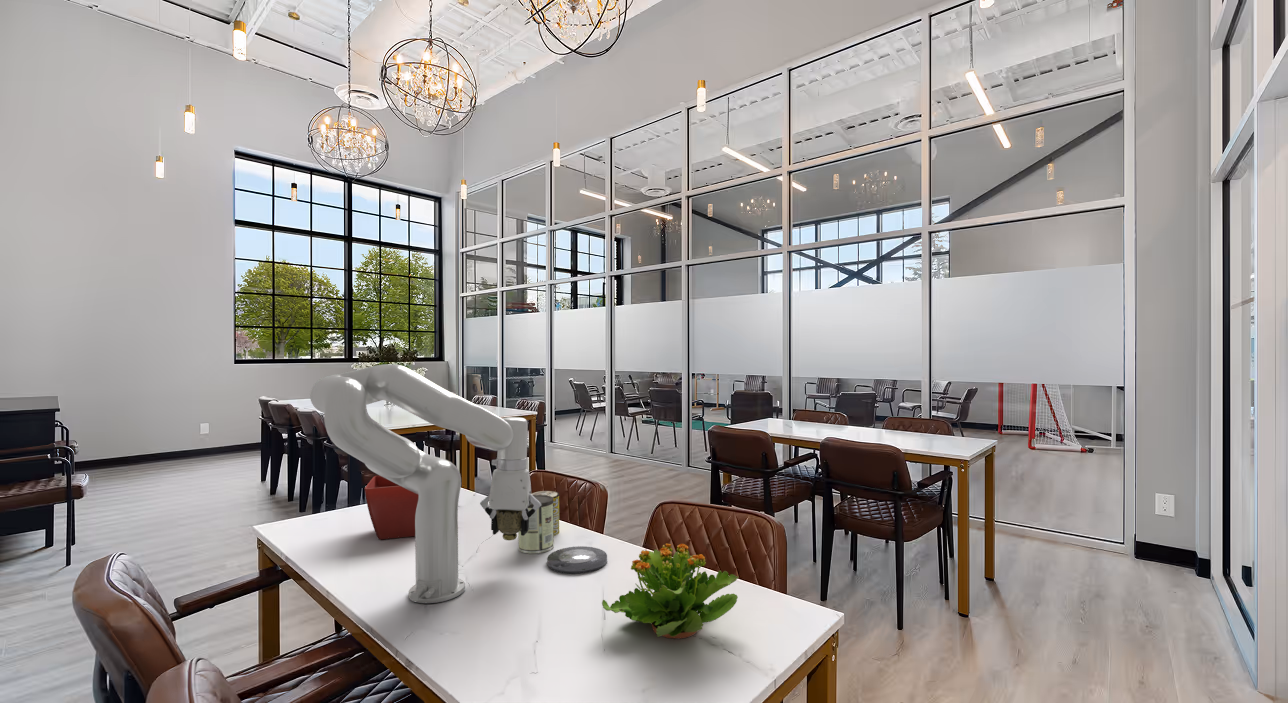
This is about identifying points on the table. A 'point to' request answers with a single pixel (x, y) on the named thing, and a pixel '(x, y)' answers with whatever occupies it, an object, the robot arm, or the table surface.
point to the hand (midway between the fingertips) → (509, 533)
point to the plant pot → (391, 508)
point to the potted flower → (674, 593)
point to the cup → (509, 523)
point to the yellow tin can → (555, 508)
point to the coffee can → (539, 528)
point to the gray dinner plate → (577, 560)
